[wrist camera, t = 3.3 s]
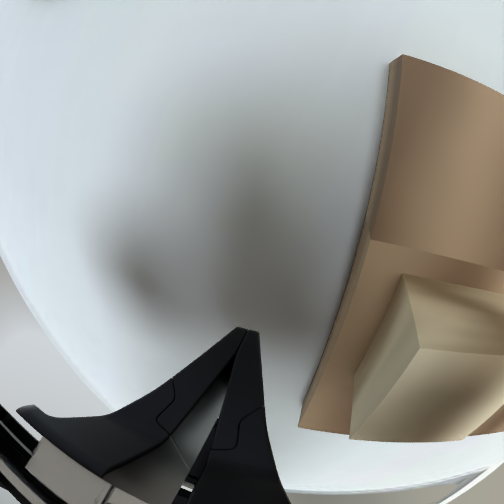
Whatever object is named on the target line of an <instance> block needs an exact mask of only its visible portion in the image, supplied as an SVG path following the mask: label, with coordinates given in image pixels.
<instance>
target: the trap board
mask: <svg viewBox="0 0 504 504" xmlns="http://www.w3.org/2000/svg"><path fill="white" fill-rule="evenodd" d="M402 273H404V274H409V275H414V276H419V277H424V278H429V279H433V280H438V281H443V282H448V283H453V284H457V285H462V286H467V287H472V288H476V289H481V290H486V291H490V292H495V293H500V294H504V95H502V94H500V93H499V92H497V91H495V90H493V89H491V88H489V87H487V86H485V85H483V84H481V83H479V82H476V81H474V80H472V79H470V78H468V77H465V76H463V75H461V74H458V73H456V72H453V71H451V70H448V69H446V68H443V67H440V66H438V65H435V64H432V63H429V62H426V61H423V60H420V59H417V58H414V57H410V56H407V55H403V54H402V55H401V56H399V57H398V58H396V59H395V60H393V61H392V62H391V63H390V69H389V81H388V91H387V100H386V108H385V116H384V123H383V130H382V136H381V143H380V149H379V154H378V160H377V165H376V171H375V176H374V181H373V186H372V190H371V195H370V200H369V204H368V208H367V213H366V217H365V221H364V225H363V229H362V233H361V237H360V241H359V245H358V248H357V252H356V256H355V259H354V263H353V266H352V270H351V273H350V276H349V280H348V283H347V286H346V290H345V293H344V296H343V299H342V302H341V305H340V308H339V311H338V314H337V317H336V320H335V323H334V326H333V329H332V331H331V334H330V337H329V340H328V342H327V345H326V348H325V351H324V353H323V356H322V358H321V361H320V364H319V366H318V369H317V371H316V374H315V376H314V378H313V381H312V383H311V386H310V388H309V390H308V393H307V395H306V397H305V400H304V402H303V405H302V410H301V415H300V419H299V424H298V427H300V428H305V429H311V430H317V431H324V432H331V433H338V434H347V435H350V426H351V415H352V403H353V389H354V375H355V373H356V371H357V369H358V367H359V365H360V364H361V362H362V360H363V358H364V356H365V354H366V352H367V350H368V348H369V347H370V345H371V343H372V341H373V339H374V337H375V335H376V332H377V330H378V328H379V326H380V324H381V322H382V320H383V318H384V315H385V313H386V311H387V309H388V307H389V304H390V302H391V300H392V297H393V295H394V293H395V290H396V288H397V285H398V283H399V280H400V278H401V275H402ZM503 431H504V404H503V405H502V406H501V407H500V408H499V409H498V410H497V411H496V412H495V413H494V414H493V415H492V416H491V417H489V418H488V419H487V420H486V421H485V422H484V423H482V424H481V425H480V426H479V427H478V428H477V429H475V430H474V431H473V432H472V433H470V434H469V435H468V436H474V435H482V434H490V433H497V432H503Z"/></svg>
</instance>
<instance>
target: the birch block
mask: <svg viewBox="0 0 504 504" xmlns="http://www.w3.org/2000/svg"><path fill="white" fill-rule="evenodd" d="M503 404H504V294H500V293H495V292H490V291H486V290H481V289H476V288H472V287H467V286H462V285H457V284H453V283H448V282H443V281H438V280H433V279H429V278H424V277H419V276H414V275H409V274H404V273H402V275H401V278H400V280H399V283H398V285H397V288H396V290H395V293H394V295H393V297H392V300H391V302H390V304H389V307H388V309H387V311H386V313H385V315H384V318H383V320H382V322H381V324H380V326H379V328H378V330H377V332H376V335H375V337H374V339H373V341H372V343H371V345H370V347H369V348H368V350H367V352H366V354H365V356H364V358H363V360H362V362H361V364H360V365H359V367H358V369H357V371H356V373H355V375H354V389H353V403H352V415H351V426H350V435H349V439H354V440H366V441H380V442H444V441H458V440H463V439H464V438H465V437H467V436H468V435H469V434H470V433H472V432H473V431H474V430H475V429H477V428H478V427H479V426H480V425H481V424H482V423H484V422H485V421H486V420H487V419H488V418H489V417H491V416H492V415H493V414H494V413H495V412H496V411H497V410H498V409H499V408H500V407H501V406H502V405H503Z"/></svg>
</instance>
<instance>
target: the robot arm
mask: <svg viewBox="0 0 504 504" xmlns="http://www.w3.org/2000/svg"><path fill="white" fill-rule="evenodd" d="M16 412H17V413H18V414H19V415H20V416H21V417H23V419H24V420H26V422H28V423H29V424H30V425H31V426H32V427H33V428H34V429H35V430H36V431H37V432H39V433H40V434H41V435H42V436H43V437H42V439H41V440H40V441H38V440H37V439H36V438H35V437H33V436H32V435H31V434H30V433H29V432H28V431H27V430H26V429H25V428H24V427H23V426H22V425H21V424H19V422H18V421H17V420H16V419H15V418H14V417H13V416H12V415H11V414H10V413H8V411H6V410H5V408H4V407H3V406H2V405H1V404H0V487H2V488H4V489H6V490H8V491H9V492H10V493H11V494H12V495H13V496H14V497H15V498H16V499H17V500H18V501H19V502H20V503H21V504H291V502H290V500H289V498H288V496H287V494H286V492H285V490H284V488H283V486H282V484H281V481H280V479H279V476H278V472H277V469H276V465H275V461H274V457H273V453H272V449H271V445H270V441H269V436H268V431H267V425H266V417H265V407H264V391H263V378H262V364H261V351H260V337H259V332H257V331H253V330H247V329H245V328H241V327H236V328H235V329H234V330H232V331H231V332H230V333H229V334H227V335H226V336H225V337H224V338H222V339H221V340H220V341H219V342H217V343H216V344H215V345H214V346H212V347H211V348H210V349H209V350H207V351H206V352H205V353H203V354H202V355H201V356H200V357H198V358H197V359H196V360H194V361H193V362H192V363H191V364H189V365H188V366H187V367H185V368H184V369H183V370H181V371H180V372H179V373H177V374H176V375H175V376H173V379H172V378H171V379H169V380H168V381H167V382H165V383H164V384H162V385H161V386H160V387H158V388H157V389H155V390H154V391H152V392H150V393H149V394H147V395H145V396H144V397H142V398H140V399H138V400H136V401H134V402H133V403H131V404H129V405H127V406H125V407H123V408H121V409H119V410H118V411H115V412H113V413H111V414H107V415H103V416H93V417H73V418H57V417H52V416H49V415H47V414H45V413H44V412H43V411H41V410H40V409H39V408H38V407H36V406H35V405H28V406H23V407H21V408H18V409H17V410H16ZM219 414H220V415H219ZM218 416H219V419H218V420H217V418H218ZM182 485H183V486H186V487H188V488H191V489H193V490H192V492H190V491H188V490H185V489H183V488H180V487H181V486H182Z"/></svg>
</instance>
